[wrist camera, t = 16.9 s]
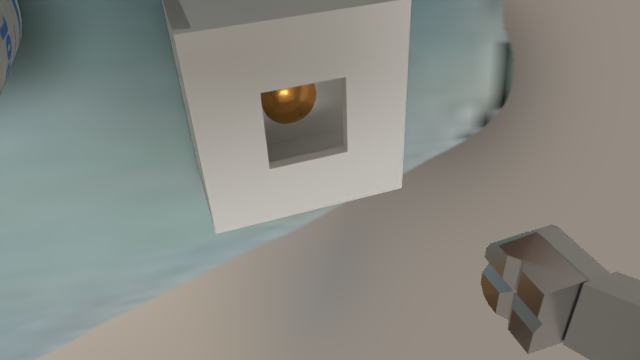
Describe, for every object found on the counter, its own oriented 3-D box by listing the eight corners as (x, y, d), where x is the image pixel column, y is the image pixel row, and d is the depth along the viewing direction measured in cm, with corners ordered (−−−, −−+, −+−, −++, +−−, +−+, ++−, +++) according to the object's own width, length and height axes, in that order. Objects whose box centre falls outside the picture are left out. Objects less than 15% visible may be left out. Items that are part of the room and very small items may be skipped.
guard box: (159, -8, 35) (173, 35, 28) (356, -34, 38) (411, -2, 31) (198, 167, 43) (216, 233, 36) (357, 133, 46) (401, 187, 39)
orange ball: (245, 55, 38) (258, 76, 35) (297, 46, 39) (314, 66, 36) (252, 104, 41) (264, 128, 38) (301, 95, 42) (317, 117, 38)
